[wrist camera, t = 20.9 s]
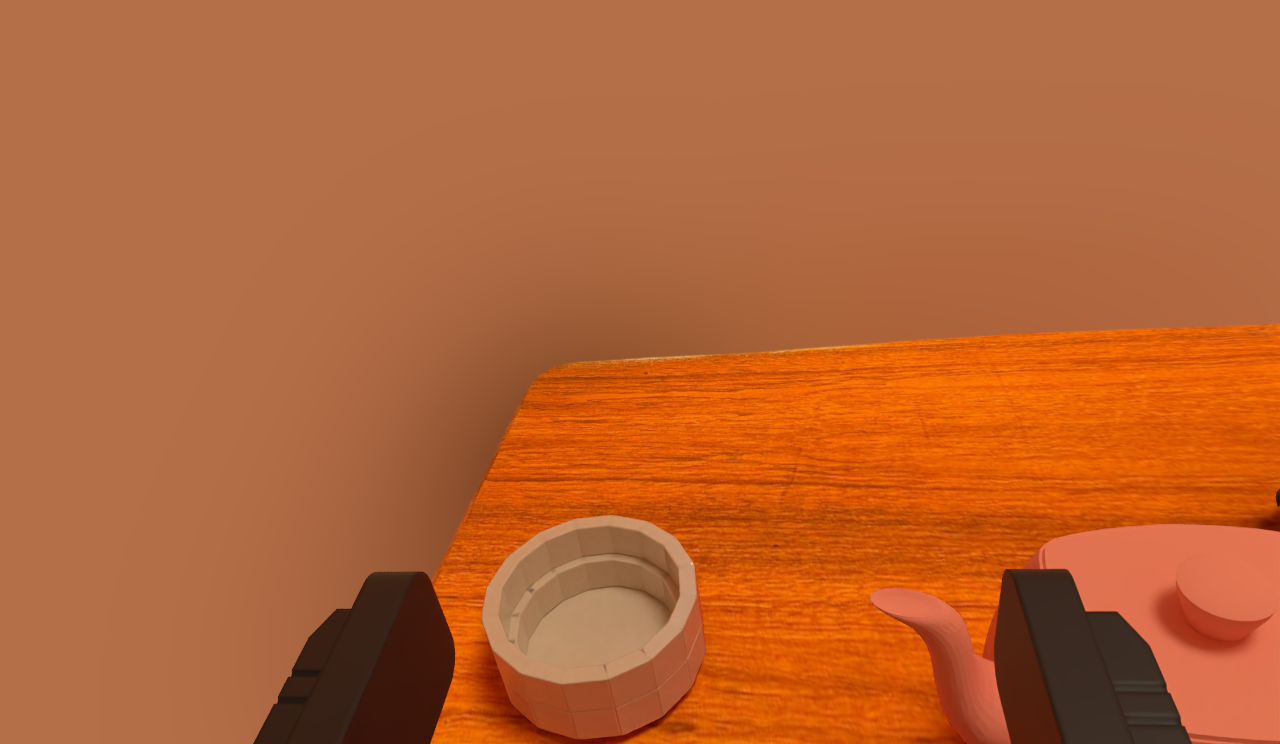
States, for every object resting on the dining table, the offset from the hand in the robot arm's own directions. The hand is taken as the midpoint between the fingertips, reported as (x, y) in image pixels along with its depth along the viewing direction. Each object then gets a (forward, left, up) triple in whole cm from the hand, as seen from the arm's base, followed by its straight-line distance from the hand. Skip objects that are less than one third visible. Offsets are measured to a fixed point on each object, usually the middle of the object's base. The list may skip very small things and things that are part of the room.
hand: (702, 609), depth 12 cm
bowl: (+2, +21, -25) cm, 33 cm away
